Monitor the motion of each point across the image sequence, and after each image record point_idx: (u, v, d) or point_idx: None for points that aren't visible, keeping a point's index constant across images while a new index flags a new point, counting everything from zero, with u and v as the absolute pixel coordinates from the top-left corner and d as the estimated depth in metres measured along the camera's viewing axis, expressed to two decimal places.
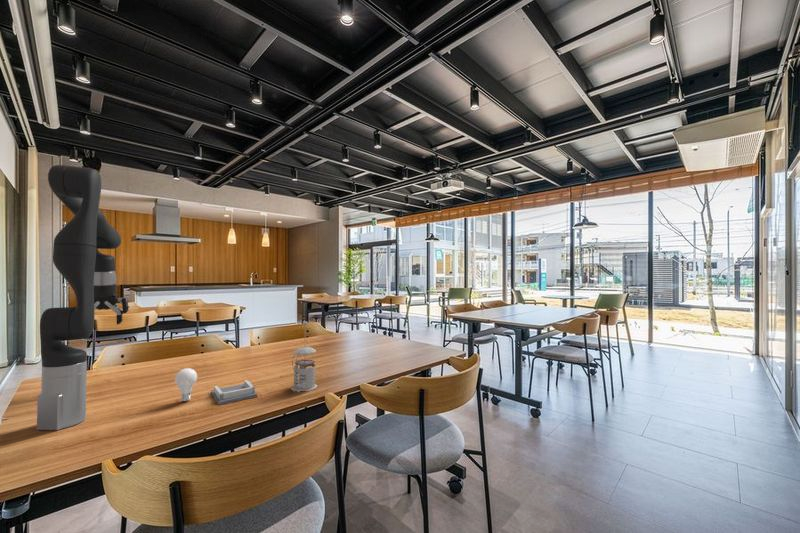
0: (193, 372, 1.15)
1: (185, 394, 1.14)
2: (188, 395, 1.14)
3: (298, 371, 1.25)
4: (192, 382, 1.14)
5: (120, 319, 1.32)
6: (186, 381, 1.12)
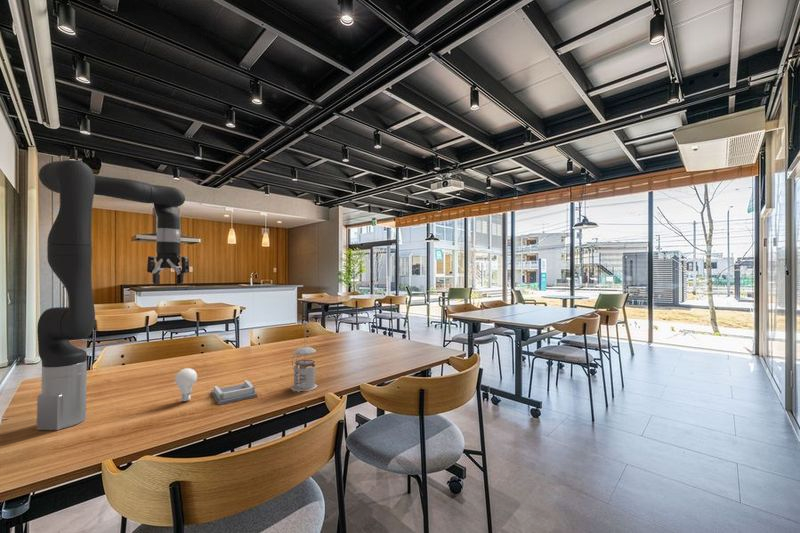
0: (193, 372, 1.15)
1: (185, 394, 1.14)
2: (188, 395, 1.14)
3: (298, 371, 1.25)
4: (192, 382, 1.14)
5: (180, 279, 1.27)
6: (186, 381, 1.12)
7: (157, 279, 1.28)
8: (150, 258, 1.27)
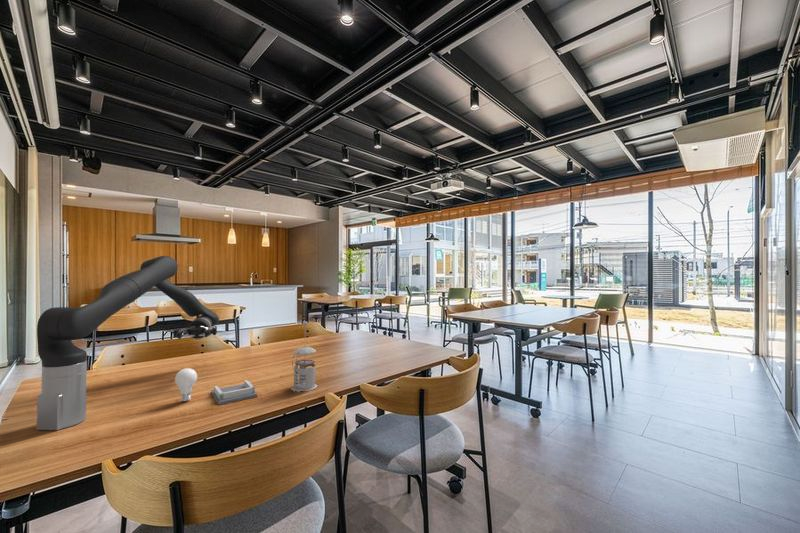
0: (193, 372, 1.15)
1: (185, 394, 1.14)
2: (188, 395, 1.14)
3: (298, 371, 1.25)
4: (192, 382, 1.14)
5: (208, 331, 1.29)
6: (186, 381, 1.12)
7: (181, 335, 1.25)
8: (179, 328, 1.32)
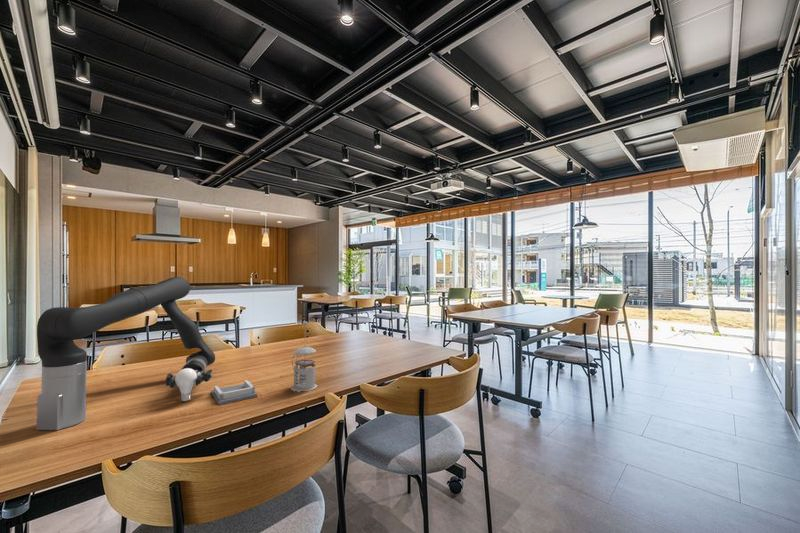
0: (193, 372, 1.15)
1: (185, 394, 1.13)
2: (188, 395, 1.14)
3: (298, 371, 1.25)
4: (192, 382, 1.14)
5: (200, 378, 1.16)
6: (186, 381, 1.12)
7: (174, 383, 1.13)
8: (170, 374, 1.19)
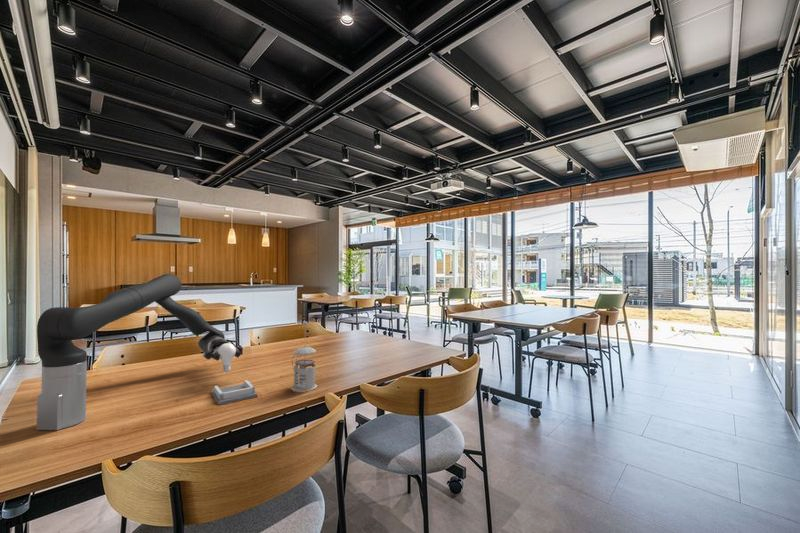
0: (234, 346, 1.31)
1: (227, 365, 1.30)
2: (229, 366, 1.30)
3: (298, 371, 1.25)
4: (234, 354, 1.30)
5: (239, 351, 1.33)
6: (230, 354, 1.28)
7: None
8: (206, 350, 1.33)
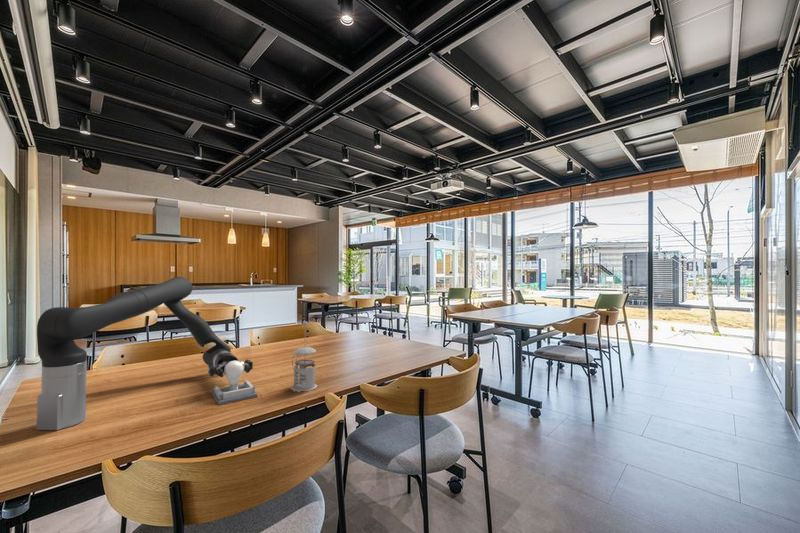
0: (241, 364, 1.22)
1: (235, 385, 1.20)
2: (237, 386, 1.21)
3: (298, 371, 1.25)
4: (241, 373, 1.21)
5: (249, 366, 1.24)
6: (237, 372, 1.19)
7: None
8: (211, 365, 1.23)
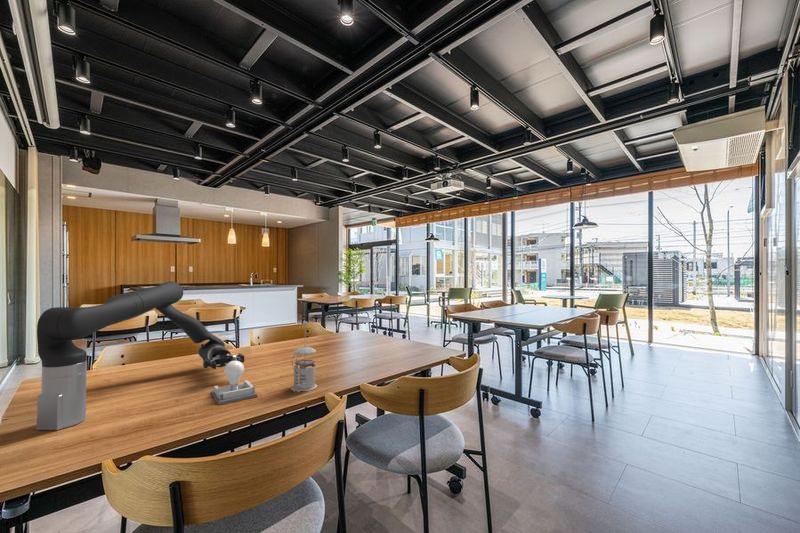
0: (241, 364, 1.22)
1: (235, 385, 1.20)
2: (237, 386, 1.21)
3: (298, 371, 1.25)
4: (242, 373, 1.21)
5: None
6: (237, 372, 1.19)
7: None
8: (205, 358, 1.33)
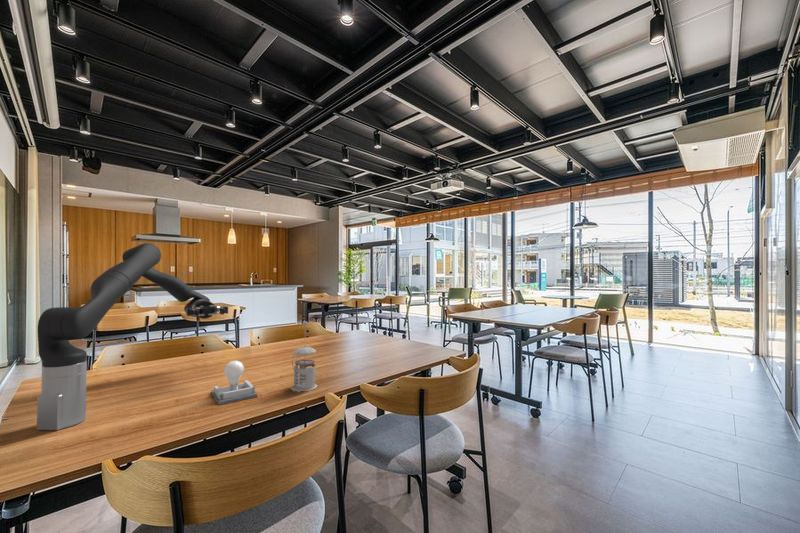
0: (241, 364, 1.22)
1: (235, 385, 1.20)
2: (237, 386, 1.21)
3: (298, 371, 1.25)
4: (242, 373, 1.21)
5: None
6: (237, 372, 1.19)
7: None
8: (189, 308, 1.34)
